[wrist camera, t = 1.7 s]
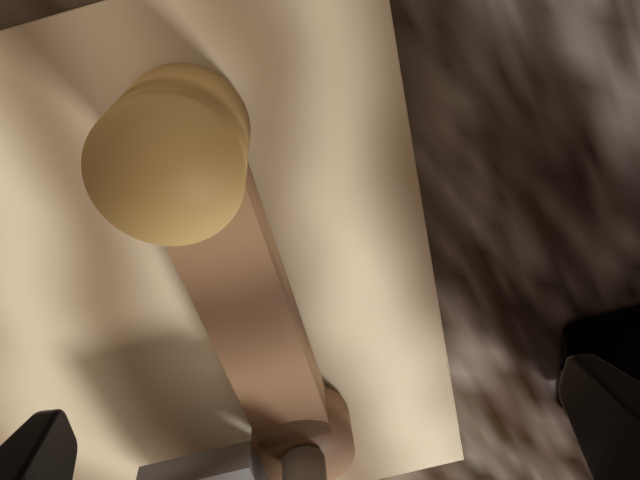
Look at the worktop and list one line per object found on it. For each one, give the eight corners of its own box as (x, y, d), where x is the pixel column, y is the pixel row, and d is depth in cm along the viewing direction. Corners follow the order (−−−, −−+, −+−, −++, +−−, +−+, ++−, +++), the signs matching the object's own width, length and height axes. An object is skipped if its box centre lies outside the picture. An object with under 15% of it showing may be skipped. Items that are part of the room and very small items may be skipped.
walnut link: (357, 438, 25) (372, 520, 21) (268, 459, 25) (267, 543, 21) (233, 45, 15) (222, 75, 12) (92, 84, 16) (42, 125, 12)
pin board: (368, -76, 16) (428, -85, 10) (454, 435, 28) (506, 573, 22) (-351, 130, 17) (-696, 237, 11) (32, 534, 29) (-31, 690, 23)
